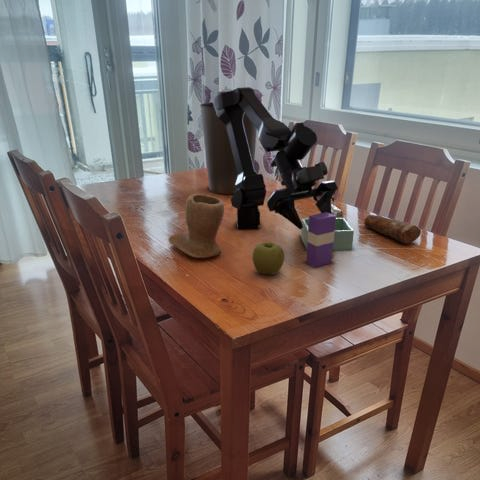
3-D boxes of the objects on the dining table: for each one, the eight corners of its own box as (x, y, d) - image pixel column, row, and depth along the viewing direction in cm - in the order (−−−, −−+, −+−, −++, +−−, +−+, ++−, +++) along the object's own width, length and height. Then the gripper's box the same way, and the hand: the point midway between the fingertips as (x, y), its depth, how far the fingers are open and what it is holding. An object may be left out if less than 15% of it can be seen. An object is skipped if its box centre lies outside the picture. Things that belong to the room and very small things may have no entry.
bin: (306, 250, 127) (308, 231, 124) (300, 236, 137) (301, 218, 134) (351, 249, 127) (353, 230, 125) (342, 235, 137) (344, 217, 134)
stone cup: (233, 255, 124) (232, 199, 117) (193, 265, 119) (189, 206, 111) (205, 238, 135) (203, 186, 128) (168, 246, 130) (163, 192, 123)
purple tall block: (305, 262, 120) (309, 215, 114) (322, 258, 122) (326, 211, 116) (314, 267, 117) (318, 219, 111) (331, 263, 120) (336, 215, 113)
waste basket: (196, 182, 191) (192, 101, 176) (243, 178, 197) (243, 100, 182) (215, 200, 169) (212, 109, 154) (267, 195, 175) (269, 106, 160)
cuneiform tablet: (334, 217, 151) (351, 229, 141) (321, 221, 151) (337, 233, 141) (331, 196, 148) (349, 206, 138) (318, 200, 147) (335, 210, 137)
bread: (403, 247, 128) (407, 228, 126) (359, 227, 143) (362, 209, 141) (421, 243, 131) (425, 224, 128) (376, 224, 146) (378, 206, 143)
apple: (260, 281, 110) (261, 253, 107) (246, 268, 117) (246, 241, 113) (289, 276, 113) (290, 248, 109) (274, 263, 119) (274, 237, 116)
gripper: (274, 155, 108) (301, 214, 105) (336, 147, 116) (363, 202, 114) (255, 183, 118) (280, 238, 115) (314, 173, 126) (338, 224, 123)
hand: (316, 225), depth 117 cm, fingers open, 9 cm apart
